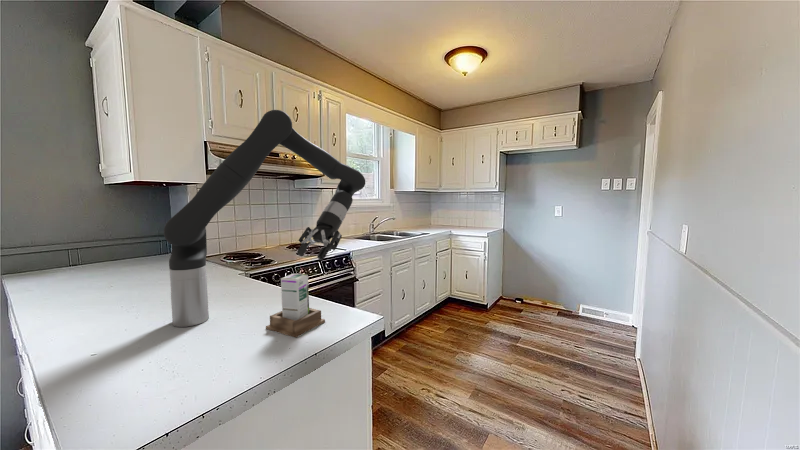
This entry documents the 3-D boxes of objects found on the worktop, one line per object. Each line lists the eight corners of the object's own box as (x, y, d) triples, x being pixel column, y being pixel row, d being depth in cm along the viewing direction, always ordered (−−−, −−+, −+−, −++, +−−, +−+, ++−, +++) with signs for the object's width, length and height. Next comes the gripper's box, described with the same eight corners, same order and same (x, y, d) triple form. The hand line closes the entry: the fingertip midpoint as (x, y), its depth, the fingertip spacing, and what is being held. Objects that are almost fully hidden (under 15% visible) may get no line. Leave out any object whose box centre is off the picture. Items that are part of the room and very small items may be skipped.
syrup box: (299, 327, 89) (298, 278, 87) (281, 325, 90) (280, 277, 89) (309, 319, 94) (308, 274, 93) (293, 317, 96) (291, 272, 94)
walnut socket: (265, 328, 89) (265, 316, 89) (296, 314, 100) (296, 303, 100) (295, 337, 84) (295, 324, 84) (325, 321, 95) (324, 310, 94)
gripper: (311, 209, 105) (286, 247, 97) (344, 212, 99) (320, 253, 90) (321, 222, 111) (299, 260, 102) (353, 225, 104) (332, 266, 96)
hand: (309, 257), depth 96 cm, fingers open, 8 cm apart
